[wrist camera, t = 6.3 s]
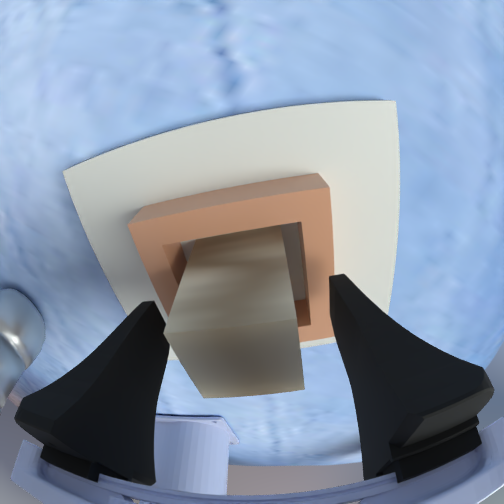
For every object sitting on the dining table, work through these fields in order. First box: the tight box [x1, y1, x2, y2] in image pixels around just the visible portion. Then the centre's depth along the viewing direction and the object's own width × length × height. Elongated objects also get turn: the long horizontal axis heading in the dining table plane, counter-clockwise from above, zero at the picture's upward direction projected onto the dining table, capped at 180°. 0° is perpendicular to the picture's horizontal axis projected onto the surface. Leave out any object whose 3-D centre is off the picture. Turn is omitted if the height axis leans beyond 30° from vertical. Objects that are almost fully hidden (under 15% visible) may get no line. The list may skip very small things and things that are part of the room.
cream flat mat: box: [62, 100, 400, 360], centre depth 14 cm, size 16×14×1 cm
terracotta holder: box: [127, 173, 335, 342], centre depth 13 cm, size 8×8×2 cm
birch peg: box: [163, 225, 305, 398], centre depth 11 cm, size 4×4×6 cm
